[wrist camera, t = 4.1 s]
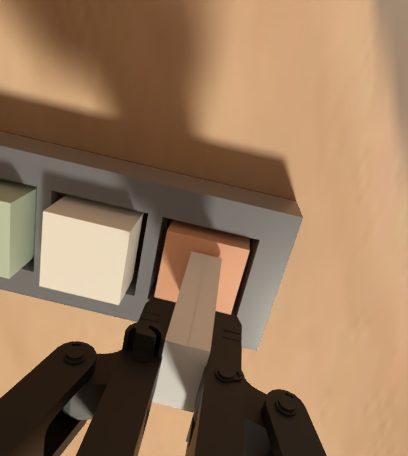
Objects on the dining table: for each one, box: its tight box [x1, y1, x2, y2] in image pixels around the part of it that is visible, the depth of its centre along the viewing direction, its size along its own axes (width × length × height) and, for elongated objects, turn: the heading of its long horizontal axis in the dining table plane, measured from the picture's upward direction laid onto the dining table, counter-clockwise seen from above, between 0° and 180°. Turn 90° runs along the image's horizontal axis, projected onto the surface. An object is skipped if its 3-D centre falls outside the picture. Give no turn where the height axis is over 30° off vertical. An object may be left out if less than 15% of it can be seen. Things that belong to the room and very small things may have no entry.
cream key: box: [39, 195, 143, 305], centre depth 19 cm, size 4×4×2 cm
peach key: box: [154, 219, 250, 315], centre depth 20 cm, size 4×4×2 cm
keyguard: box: [0, 131, 303, 351], centre depth 20 cm, size 19×8×2 cm, turn 78°
